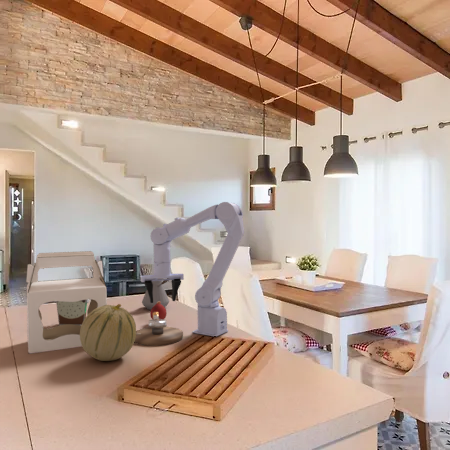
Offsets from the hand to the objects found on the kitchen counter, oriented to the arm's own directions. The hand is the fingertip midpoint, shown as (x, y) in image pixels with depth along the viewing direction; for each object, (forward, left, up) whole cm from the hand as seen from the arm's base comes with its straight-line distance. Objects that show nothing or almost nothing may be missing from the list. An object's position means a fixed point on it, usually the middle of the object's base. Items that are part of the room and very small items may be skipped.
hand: (162, 301), depth 142 cm
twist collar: (-3, +6, -6) cm, 9 cm away
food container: (+33, +10, -10) cm, 36 cm away
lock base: (-6, +9, -9) cm, 14 cm away
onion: (+6, -5, -10) cm, 12 cm away
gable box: (+15, +27, -10) cm, 33 cm away
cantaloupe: (-8, +31, -10) cm, 34 cm away
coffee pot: (+20, -22, -10) cm, 31 cm away
